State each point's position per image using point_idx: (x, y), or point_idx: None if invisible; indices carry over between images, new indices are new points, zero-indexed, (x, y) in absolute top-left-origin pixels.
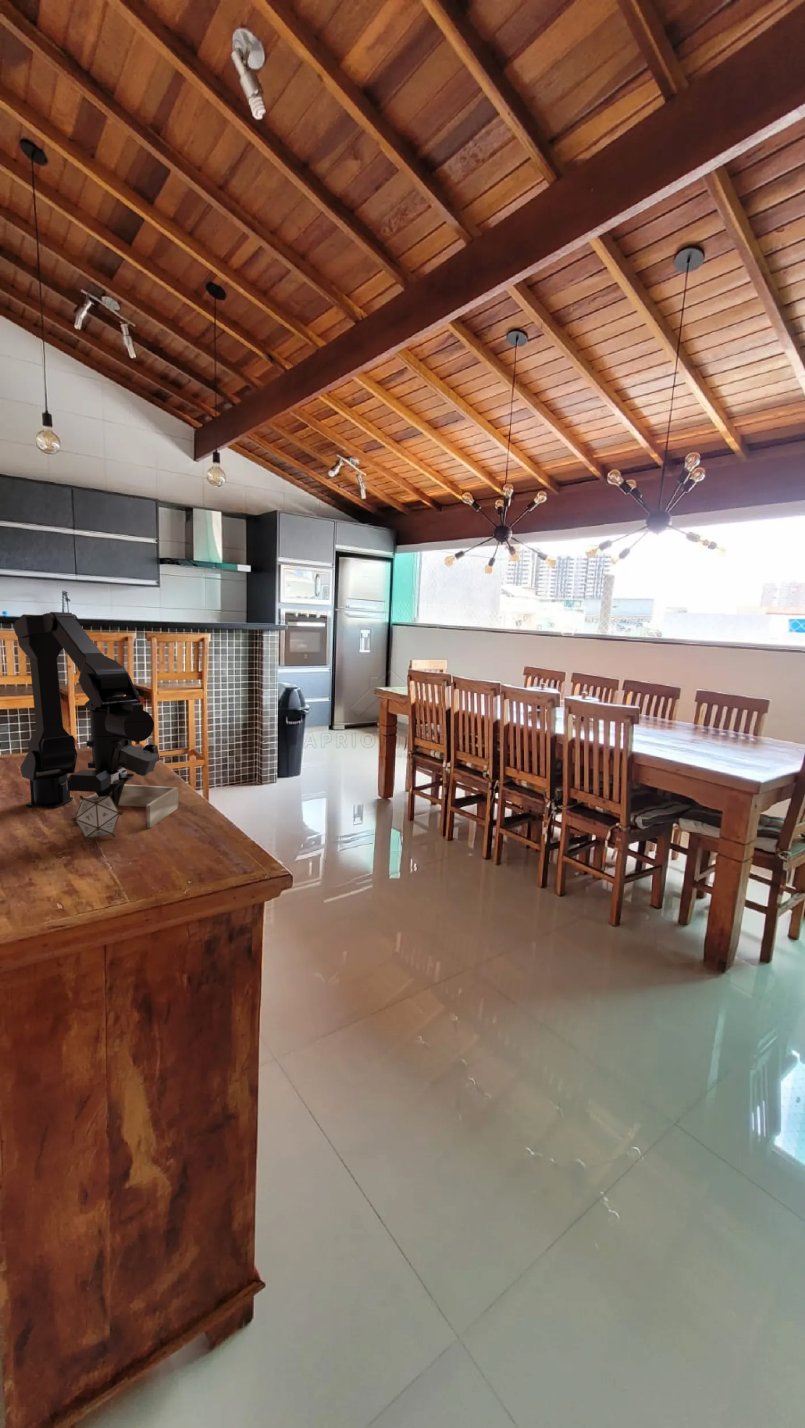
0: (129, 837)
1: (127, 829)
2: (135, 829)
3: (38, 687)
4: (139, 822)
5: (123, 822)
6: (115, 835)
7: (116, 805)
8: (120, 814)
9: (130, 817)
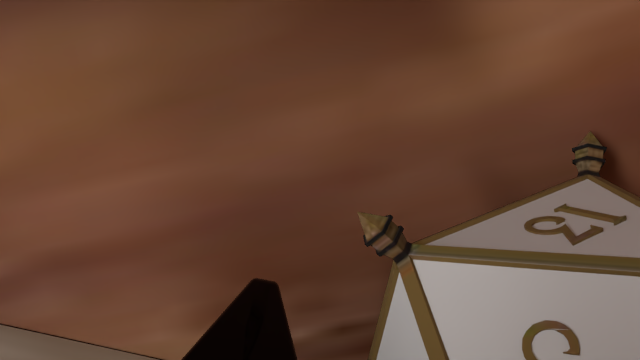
0: (586, 7)
1: (334, 84)
2: (337, 8)
3: None
4: (127, 21)
5: (150, 158)
6: (587, 143)
7: (253, 340)
8: (398, 232)
9: (16, 133)
